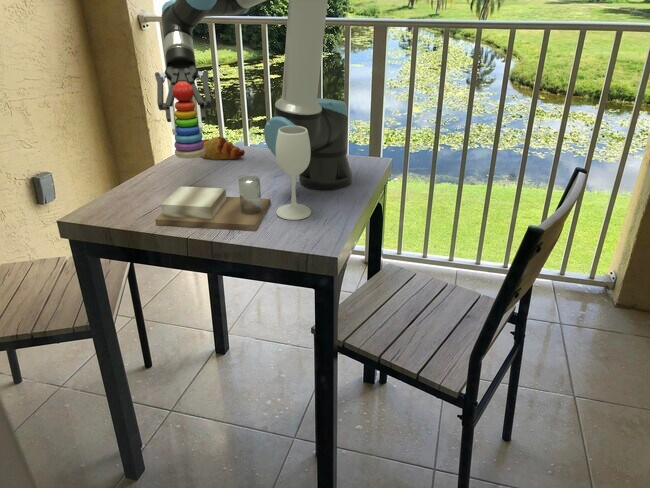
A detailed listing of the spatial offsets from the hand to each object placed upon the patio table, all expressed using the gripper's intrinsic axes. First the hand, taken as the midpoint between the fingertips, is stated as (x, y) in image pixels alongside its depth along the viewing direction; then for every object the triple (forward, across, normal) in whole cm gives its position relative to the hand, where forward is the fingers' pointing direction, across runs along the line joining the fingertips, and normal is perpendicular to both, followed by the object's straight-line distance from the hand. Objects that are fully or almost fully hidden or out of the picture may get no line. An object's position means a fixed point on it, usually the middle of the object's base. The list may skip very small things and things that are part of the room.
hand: (187, 131), depth 129 cm
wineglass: (+25, -24, -1) cm, 34 cm away
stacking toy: (+3, 0, -8) cm, 8 cm away
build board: (+22, -5, -3) cm, 23 cm away
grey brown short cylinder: (+23, -13, 0) cm, 27 cm away
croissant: (-13, -7, -38) cm, 40 cm away
